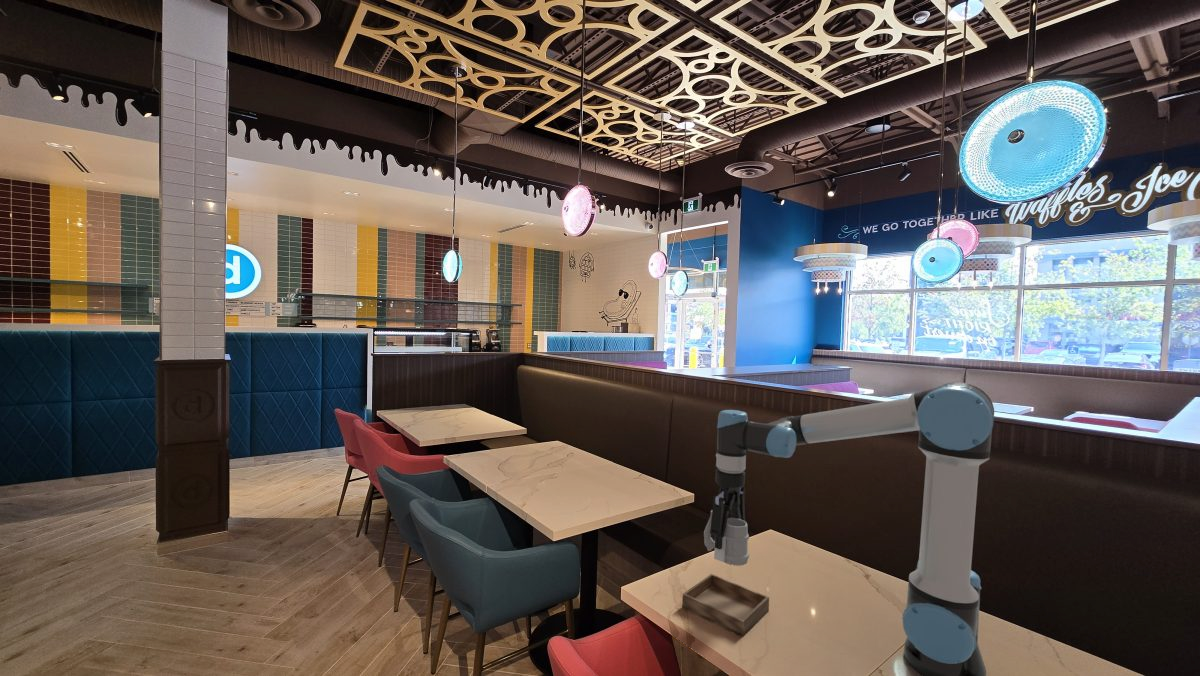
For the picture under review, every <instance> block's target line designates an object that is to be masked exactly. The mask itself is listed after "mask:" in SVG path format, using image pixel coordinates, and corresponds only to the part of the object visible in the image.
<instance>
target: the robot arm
mask: <svg viewBox="0 0 1200 676" xmlns="http://www.w3.org/2000/svg"><path fill="white" fill-rule="evenodd" d="M992 401H993V400H991V398H990V397H989V395H988V393H986V392H985V391H984V390H983V389H981V388H980V387H978V386H976V385H974V384H971V383H966V382H959V381H955V382H947V383H945V384H942V385H940V386H937V387H934V388H929V389H925V390H921V391H916V392H912V394H910V396H909V397H906V398H899V399H894V400H887V401H882V402H874V403H870V404H869V403H868V404H862V405H856V406H851V407H845V408H844V407H843V408H837V409H833V410H827V411H819V412H813V413H806V414H803V415H795V416H793V415H789V416H788V415H787V416H783V417H781V418H779V419H777V420H774V421H771V422H769V423H763V422H756V421H751V420H749V418H748V414H747V412H745V411H741V410H737V409H724V410H721V411H720V412H719V413H718V417H717V426H716V429H717V430H716V432H717V434H716V454H715V457H716V463H715V467H716V469H715V477H714V479H715V483H716V484H717V485H718V486H719V491H718V495H713V496H712V510H713V511H712V520H711V530H710V534H711V536H714V541H715V548H714V552H713V553H714V554H713V555H714V557H713V559H714V560H717V561H719V562H722V563H724V562H725V549H726V536H724V534H725V529H726V524H727V519H728V518H729V514H730V518H736V519H741V520H743V521H745V522H746V510H745V509H746V506H745V502H746V501H745V495H746V487H745V484H746V472H745V470H746V469H747V467H746V465H747V464H746V463H747V462H746V461H747V460H746V459H747V451H748V452H754V453H757V454H762V455H768V456H772V457H775V458H785V459H788V458H791V457H792V456H793V455H794V453H795V451H796V448H797V447H796V446H802V445H803V446H804V445H808V444H816V443H823V442H832V441H834V442H835V441H840V440H841V441H842V440H850V439H858V438H865V437H866V438H867V437H873V436H882V435H883V436H884V435H890V434H891V435H892V434H898V433H909V432H914V431H918V432H919V433H918V446H917V447H918V449H919V450H920V451H921V452H922V453H923V454H924V456H925V457H926V458H925V459H926V460H925V472H924V475H925V476H924V486H923V487H924V488H923V499H922V500H923V501H922V514H921V527H920V539H919V540H920V541H919V543H920V544H919V552H918V553H919V554H918V555H919V556H918V561H917V565H916V568H915V570H914V571H912V572H910V573H909V575H908V585H907V586H908V587H907V598H906V607H905V609H904V611H903V612H902V626H903V627H902V628H903V631H904V633H905V635H906V639H905V641H904V645H903V654H904V655H903V656H904V658H905V660H906V661H907V663H908V665H910V666H911V667H912V668H913V669H914V670H915V671H916V672H918V673H920V674H921V675H922V676H987V668H986V666H985V661H984V659H983V655H982V652H981V649H980V646H979V643H978V641H979V640H978V639H979V622H980V621H979V617H980V601H981V597H980V596H981V590H982V586H981V578H980V576H979V574H978V573H976V572H975V571H973V570H972V564H973V563H972V561H973V550H974V549H973V547H974V536H975V523H976V521H975V520H976V508H977V507H976V506H977V497H978V484H979V473H980V466H981V465H982V464H984V463H986V462H987V461H989V460H990V458H991V449H992V448H991V446H992V434H993V427H994V422H995V421H994V419H995V418H994V416H995V408H994V404H993V402H992Z"/></svg>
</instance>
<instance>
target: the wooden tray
mask: <svg viewBox="0 0 1200 676" xmlns="http://www.w3.org/2000/svg"><path fill="white" fill-rule="evenodd" d="M681 602H682V603H681V605H682V606H681V607H682V609H683V610H685V611H687V612H689V613H691V614H694V615H696V616H698V617H700V618H702V619H704V620H706V621H708V622H710V623H712V624H714V625H716V626H718V627H721V628H722V629H725V630H727V631H728V632H731V633H733V634H735V635H737V636H739V637H740V638H741V637H742V638H743V637H744V636H746V635H747V634H748V632H750V631H751V629H753V628H754V627H755V626H756V625H757V623H758V622H760V621H761V620H762V619H763V618H764V617H765V616H766V615H767V614H768V613H769V611H770V597H769V596H767V595H765V594H762V593H760V592H758V591H755V590H752V589H750V588H747V587H745V586H743V585H740V584H738V583H735V582H733V581H730V580H728V579H725V578H723V577H720V576H718V575H715V574H713V573H710V574H709V575H708V576H706V577H705V578H703V579H702V580H701V581H699V582H698V583H696V584H694V585H693V586H692V587H691V588H689V589H687V591H685V592H684V593H682V601H681Z"/></svg>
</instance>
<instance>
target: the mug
mask: <svg viewBox="0 0 1200 676" xmlns="http://www.w3.org/2000/svg"><path fill="white" fill-rule="evenodd" d="M712 511H713V509H711V510H710V516H709V518H708V521H707V523H706V525H705V527H704V531H703V537H704V538H703V542H704V546H705V547H706V549H707V552H711V551H712V550H713V549H715V540H714V539H713V537H711V536H712V534H710V530H711V520H712ZM748 528H749V527H748V523H747V521H746V520H745V521H743V520H741V519H736V518H731V517H728V519H727V524H726V529H725V534H724V536H726V549H725V562H723V563H725V564H727V565H730V566H732V565H733V566H736V567H737V566H739V567H740V566H744V565H746V564H747V563H748V561H749V558H750V553H749V551H748V550H749V549H748V543H749V542H748V541H749V539H750V535H749V533H748V530H749V529H748Z"/></svg>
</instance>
